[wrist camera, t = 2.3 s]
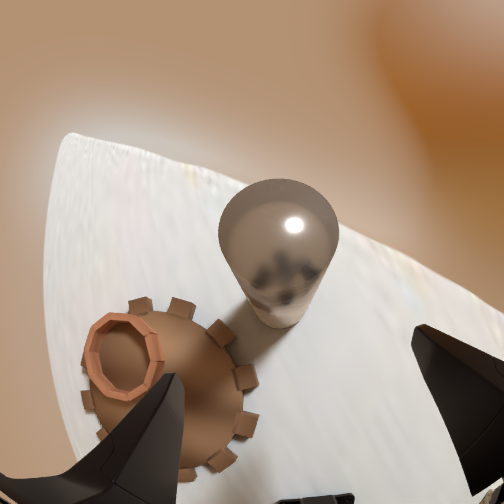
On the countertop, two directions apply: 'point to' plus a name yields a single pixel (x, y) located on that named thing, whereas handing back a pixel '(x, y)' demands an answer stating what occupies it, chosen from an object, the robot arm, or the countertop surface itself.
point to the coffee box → (488, 497)
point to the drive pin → (278, 246)
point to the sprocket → (170, 360)
